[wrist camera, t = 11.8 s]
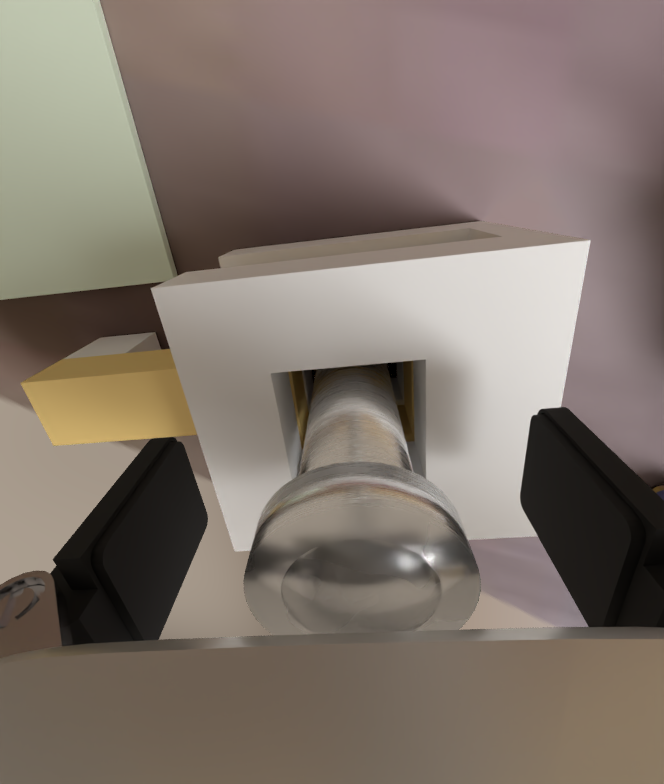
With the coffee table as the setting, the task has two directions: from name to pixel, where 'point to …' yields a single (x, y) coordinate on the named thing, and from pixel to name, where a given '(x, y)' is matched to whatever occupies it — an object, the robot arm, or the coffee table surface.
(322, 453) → the steel pin
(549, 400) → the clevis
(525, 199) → the coffee table surface
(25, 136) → the pin mat
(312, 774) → the robot arm
